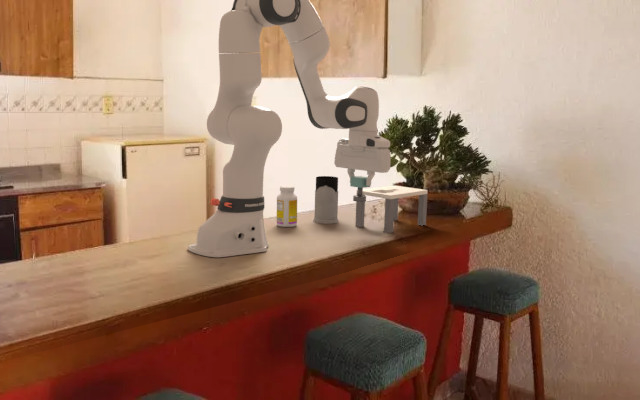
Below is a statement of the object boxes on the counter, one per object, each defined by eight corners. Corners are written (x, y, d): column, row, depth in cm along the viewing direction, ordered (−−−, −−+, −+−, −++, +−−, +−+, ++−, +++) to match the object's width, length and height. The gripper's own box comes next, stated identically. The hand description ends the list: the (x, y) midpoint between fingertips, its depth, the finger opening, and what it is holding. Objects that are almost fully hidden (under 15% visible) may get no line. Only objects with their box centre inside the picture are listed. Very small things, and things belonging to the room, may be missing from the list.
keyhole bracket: (388, 233, 209) (390, 195, 207) (355, 226, 218) (356, 190, 216) (425, 225, 223) (427, 190, 221) (392, 219, 232) (394, 185, 230)
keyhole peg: (360, 202, 204) (361, 178, 203) (349, 200, 207) (350, 176, 206) (369, 201, 207) (370, 177, 206) (358, 199, 210) (360, 176, 209)
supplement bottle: (298, 224, 219) (298, 185, 217) (295, 228, 213) (296, 188, 211) (278, 223, 220) (278, 184, 218) (274, 227, 213) (275, 187, 211)
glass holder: (311, 222, 222) (312, 178, 220) (316, 215, 236) (318, 173, 234) (337, 224, 221) (338, 179, 219) (341, 216, 235) (342, 174, 233)
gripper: (331, 137, 209) (329, 181, 211) (381, 142, 195) (379, 188, 197) (344, 137, 214) (342, 180, 216) (394, 142, 200) (392, 187, 202)
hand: (360, 184), depth 206 cm, fingers closed on keyhole peg, 4 cm apart
